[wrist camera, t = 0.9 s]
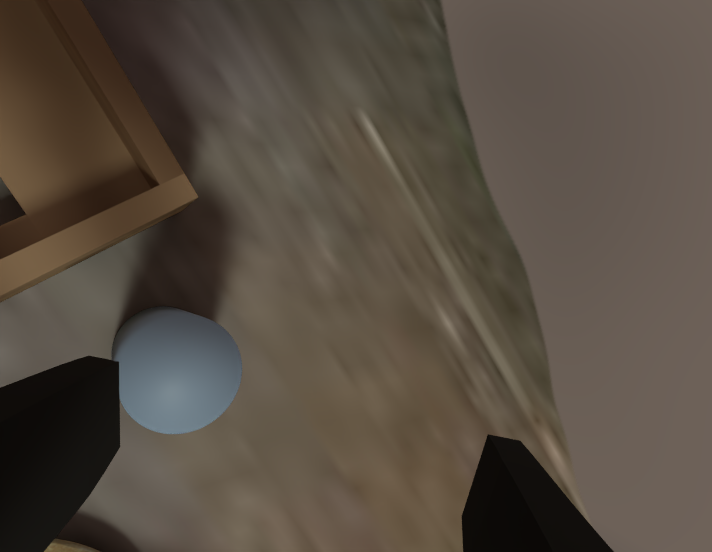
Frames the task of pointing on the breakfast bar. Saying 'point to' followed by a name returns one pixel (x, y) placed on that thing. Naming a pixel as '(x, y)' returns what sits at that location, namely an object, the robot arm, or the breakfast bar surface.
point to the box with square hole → (73, 145)
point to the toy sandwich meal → (68, 547)
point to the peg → (175, 369)
